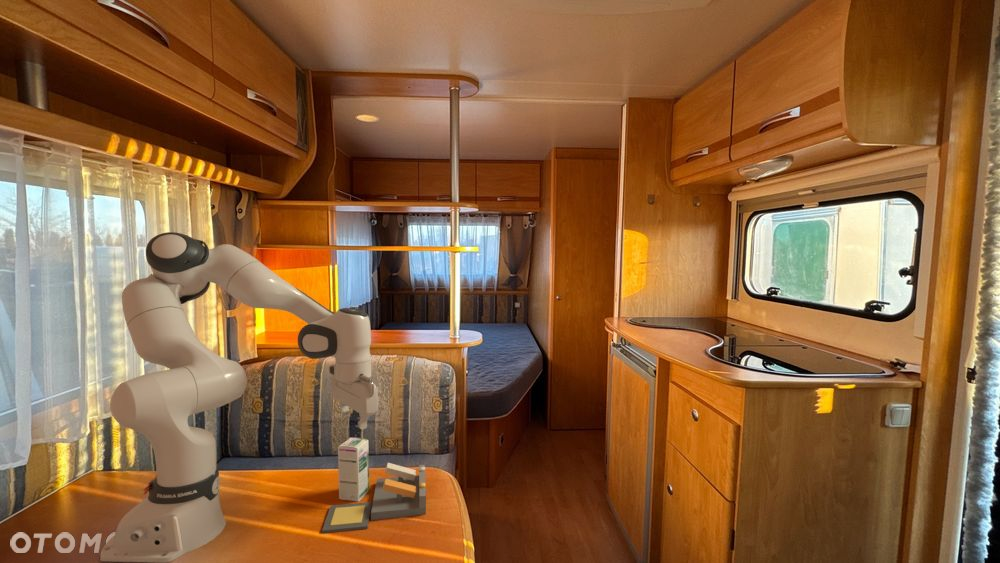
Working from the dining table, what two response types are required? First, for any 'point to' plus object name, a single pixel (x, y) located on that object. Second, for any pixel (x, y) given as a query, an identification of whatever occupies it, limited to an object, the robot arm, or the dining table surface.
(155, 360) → the robot arm
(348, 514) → the pad
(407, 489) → the block
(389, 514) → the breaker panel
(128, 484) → the dining table surface
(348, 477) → the syrup box
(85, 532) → the dining table surface
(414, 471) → the block
